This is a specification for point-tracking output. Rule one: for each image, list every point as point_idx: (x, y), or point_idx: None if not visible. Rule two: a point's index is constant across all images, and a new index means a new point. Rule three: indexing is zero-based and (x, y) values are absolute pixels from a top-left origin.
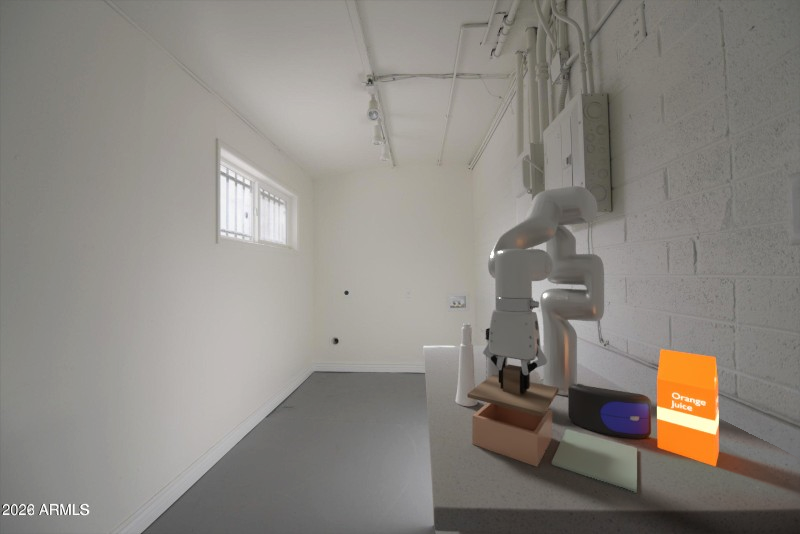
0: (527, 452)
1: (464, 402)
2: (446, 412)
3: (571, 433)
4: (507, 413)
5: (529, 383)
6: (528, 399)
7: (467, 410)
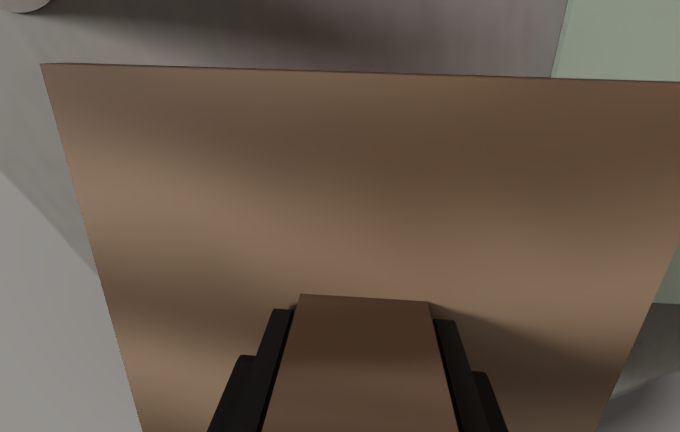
0: None
1: (18, 5)
2: (34, 140)
3: (599, 15)
4: None
5: (492, 396)
6: None
7: (81, 53)
